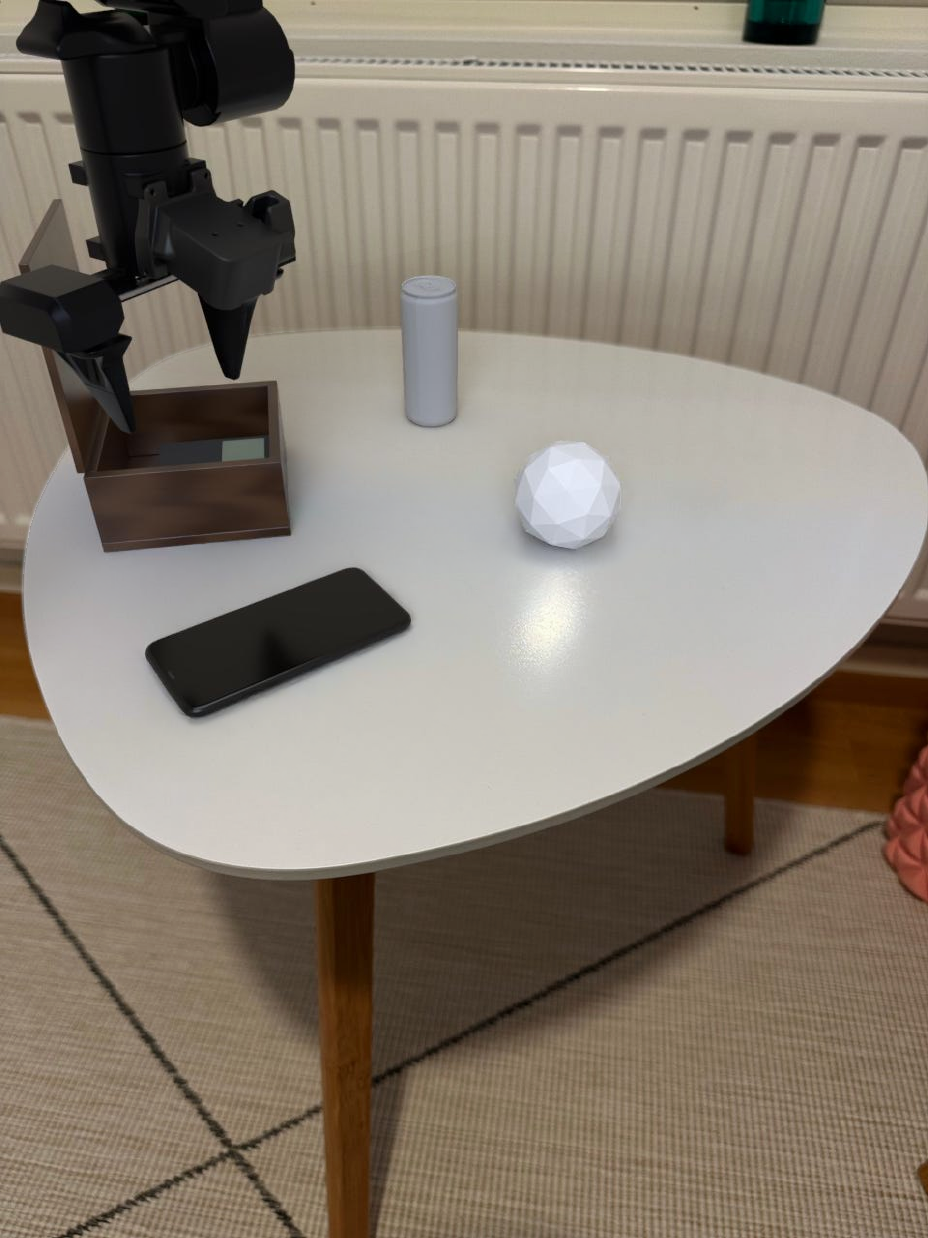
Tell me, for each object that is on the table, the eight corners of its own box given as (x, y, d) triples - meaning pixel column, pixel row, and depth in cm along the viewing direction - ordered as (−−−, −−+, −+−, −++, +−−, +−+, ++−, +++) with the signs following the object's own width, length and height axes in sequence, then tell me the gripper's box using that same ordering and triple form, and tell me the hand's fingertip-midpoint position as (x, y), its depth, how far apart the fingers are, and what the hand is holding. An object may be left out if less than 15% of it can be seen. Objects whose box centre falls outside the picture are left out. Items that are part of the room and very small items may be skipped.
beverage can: (439, 399, 91) (437, 270, 83) (468, 419, 88) (469, 287, 80) (395, 413, 89) (388, 282, 81) (423, 434, 86) (419, 299, 78)
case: (285, 448, 84) (277, 379, 80) (290, 535, 73) (280, 461, 69) (122, 461, 82) (105, 391, 78) (103, 552, 72) (82, 478, 68)
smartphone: (357, 571, 70) (141, 655, 62) (356, 561, 69) (138, 644, 62) (418, 629, 65) (190, 727, 57) (417, 618, 64) (187, 716, 57)
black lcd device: (162, 513, 74) (154, 476, 72) (167, 476, 79) (159, 441, 77) (275, 502, 75) (270, 467, 73) (274, 467, 80) (269, 432, 78)
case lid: (61, 198, 69) (52, 198, 69) (28, 263, 58) (17, 264, 58) (108, 387, 78) (100, 388, 78) (86, 473, 67) (77, 474, 67)
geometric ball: (541, 555, 76) (525, 453, 76) (641, 539, 73) (625, 432, 72) (506, 560, 69) (488, 448, 69) (615, 542, 66) (597, 424, 66)
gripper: (100, 206, 44) (164, 503, 54) (354, 129, 56) (368, 381, 66) (-53, 170, 49) (31, 449, 58) (213, 106, 61) (246, 345, 71)
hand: (182, 403), depth 63 cm, fingers open, 9 cm apart
